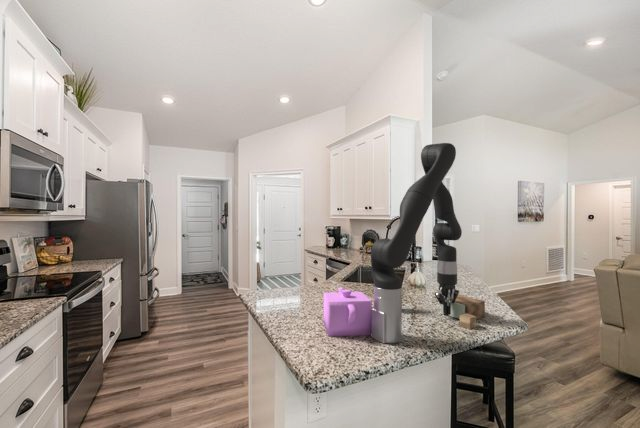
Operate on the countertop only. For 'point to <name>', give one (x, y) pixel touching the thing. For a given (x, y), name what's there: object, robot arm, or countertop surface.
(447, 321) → the countertop surface
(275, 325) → the countertop surface
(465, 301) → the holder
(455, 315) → the tray
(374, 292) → the robot arm
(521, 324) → the countertop surface
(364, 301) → the teapot
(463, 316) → the oak block
